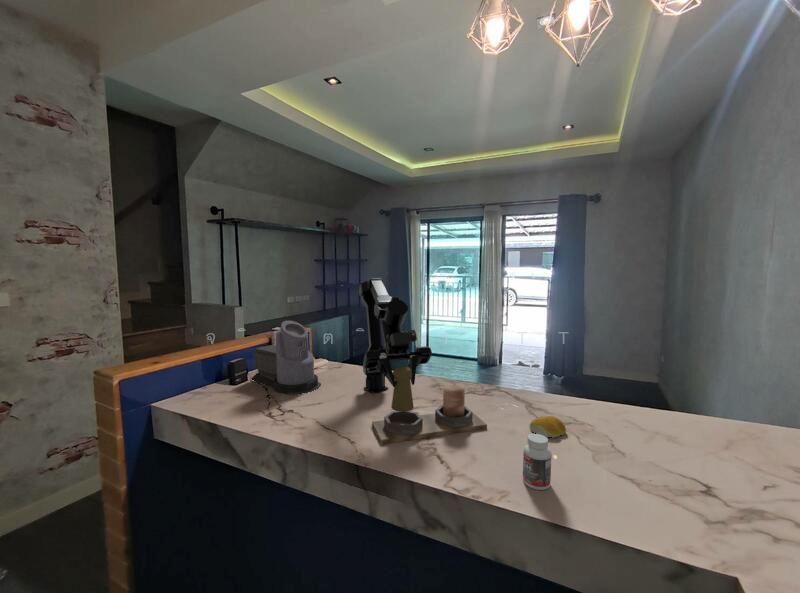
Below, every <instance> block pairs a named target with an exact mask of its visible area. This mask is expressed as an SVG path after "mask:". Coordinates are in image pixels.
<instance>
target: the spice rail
mask: <svg viewBox="0 0 800 593" xmlns="http://www.w3.org/2000/svg"><path fill="white" fill-rule="evenodd" d="M442 390H443V391H442V394H443V395H442V400H443V401H442V404H441V405H439V406H438V407H437V408H436V409H435V410H434V413H428V414H420V413H419V412H415V411H412V410H410V411H406V412H399V411H395V410H393V411H391V412H389V413H388V414H386V415H384V419H382V420H375V421H372V422H371V426H372V429H373V430H374V432H375V434H376V436H377V438H378V441H379V443H380V444H381V445H387V444H393V443H400V442H407V441H413V440H419V439H425V438H433V437H441V436H446V435H453V434H460V432H461V433H467V432H473V431H479V429H481V430H486V428H487V429H488V424H487V423H486V422H485V421H484V420H482V419H481V418H480V417H479V416H478V415H476V414H475V413H474V412H473V411H472V410H471V409H469V408H468V407H467V406H466V405H465V404H466V402H465V398H466V396H465V395H466V393H465V392H466V389H465V388H464V387H463V386H461V385H460V386H459V385H456V384H455V385H453V384H449V385H445V386H444V387H443V389H442Z"/></svg>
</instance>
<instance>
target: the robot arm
mask: <svg viewBox="0 0 800 593" xmlns="http://www.w3.org/2000/svg"><path fill="white" fill-rule="evenodd" d="M383 280H384V279H383V278H381V277H370V278H368V279H367V280H366V281H363V282H362V283H360V284H359V287H358V294H359V297H360V298H361V299H360V300H361V303H362V304H363V305H364V307H365V310H366V321H367V324H366V325H367V333H368V335H367V336H368V345H369V346H368V349H367V350H366V352H365V353H364V357H363V363H362V364H363V365H362V372H363V373H364V375H365V376H366V377H365V386H364V387H363V390H366V391H368V392H370V393H373V394H376V393H379V392H383V391H386V390H388V389H389V387H388V386H386V379H387V380H388V382H389V383H390V385H391V387H393V388H394V387H395V379H394V376H393V369H392V366H391V362H395V361H404V360H405V361H406V360H407V361H408V365H407V367H408V368H410V369H411V371H412V378H411V379H410V383H411V386H414V385H415V382H416V372H417V367H418V366H419V365H426V364H428V363H429V361H430V359H431V357H432V355H433V352H432V349H431V347H430V346H427V345H425V346H416V348H415V350H414V351H411V352H410V351H409V352H408V350H410V345H412V343H415V342H416V341H417V340H418V336H417V332H416V330H415V329H409V330H408V331H403V330H402V325H403V324H404V321H405V320H406V316H407V313H408V311H409V310H408V309H409V306H408V304H407V303H406V302H405V301H403V300H401V299H399V296H390V295H389V293H388V291H387V289H386V287H385V285H384V281H383ZM380 320H382V321H380ZM381 333H382V335H381ZM382 337H383V342H384V344H382ZM383 345H384V346H383Z"/></svg>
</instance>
